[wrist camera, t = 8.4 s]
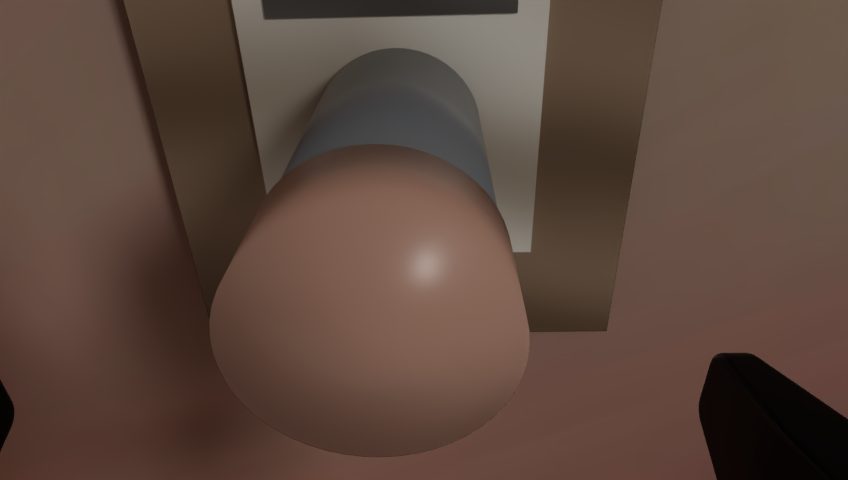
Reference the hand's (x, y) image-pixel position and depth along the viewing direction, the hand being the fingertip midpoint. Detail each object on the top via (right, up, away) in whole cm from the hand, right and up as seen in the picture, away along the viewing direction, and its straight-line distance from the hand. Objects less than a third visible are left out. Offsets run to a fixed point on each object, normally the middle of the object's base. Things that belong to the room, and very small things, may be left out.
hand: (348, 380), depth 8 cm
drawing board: (0, +5, +8) cm, 10 cm away
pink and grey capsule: (0, +4, +7) cm, 9 cm away
